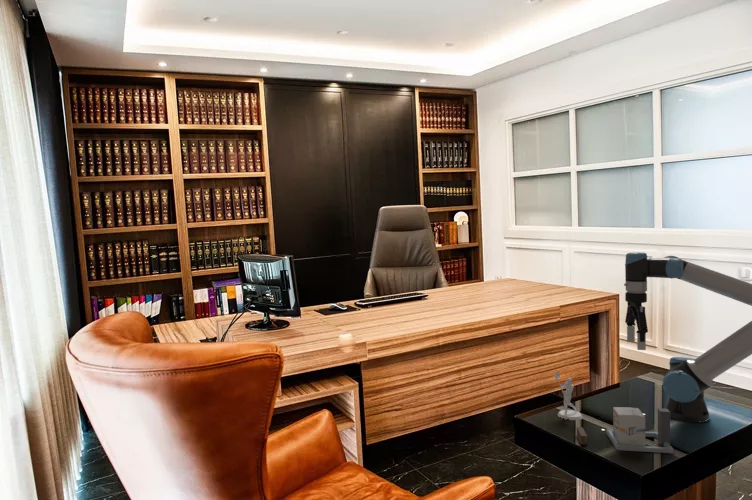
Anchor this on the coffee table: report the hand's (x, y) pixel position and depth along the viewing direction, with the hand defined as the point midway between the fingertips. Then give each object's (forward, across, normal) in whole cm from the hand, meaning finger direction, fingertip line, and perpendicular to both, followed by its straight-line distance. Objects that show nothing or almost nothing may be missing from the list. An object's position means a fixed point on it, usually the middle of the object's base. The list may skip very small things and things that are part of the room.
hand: (636, 345), depth 201 cm
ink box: (+29, +26, -10) cm, 40 cm away
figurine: (+29, +1, -25) cm, 38 cm away
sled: (+29, +25, -6) cm, 38 cm away
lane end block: (+29, +25, -25) cm, 46 cm away
